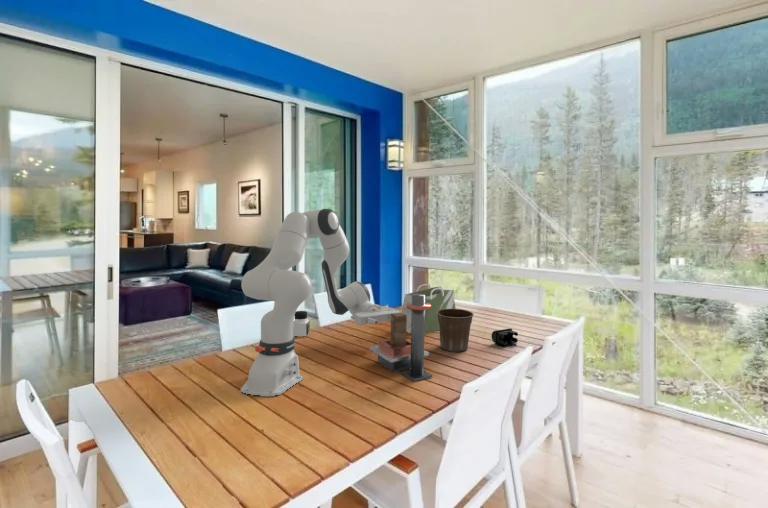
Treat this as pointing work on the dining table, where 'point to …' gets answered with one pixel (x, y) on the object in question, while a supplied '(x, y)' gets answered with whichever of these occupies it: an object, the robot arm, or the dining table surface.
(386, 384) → the dining table surface
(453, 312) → the plant pot
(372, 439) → the dining table surface
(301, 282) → the robot arm
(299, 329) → the medicine bottle
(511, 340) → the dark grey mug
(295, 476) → the dining table surface
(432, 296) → the grocery bag
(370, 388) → the dining table surface
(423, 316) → the bracket
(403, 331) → the tall wooden post
